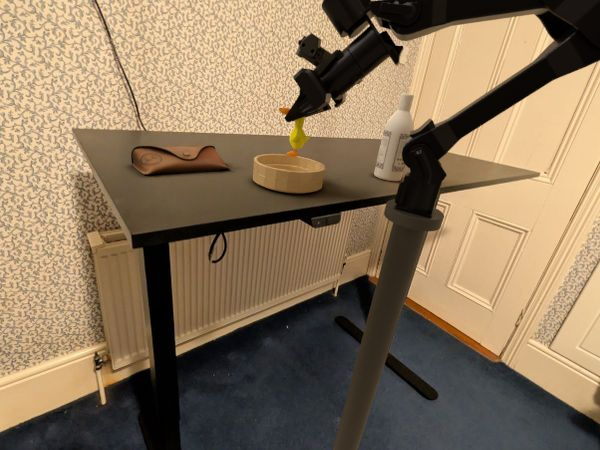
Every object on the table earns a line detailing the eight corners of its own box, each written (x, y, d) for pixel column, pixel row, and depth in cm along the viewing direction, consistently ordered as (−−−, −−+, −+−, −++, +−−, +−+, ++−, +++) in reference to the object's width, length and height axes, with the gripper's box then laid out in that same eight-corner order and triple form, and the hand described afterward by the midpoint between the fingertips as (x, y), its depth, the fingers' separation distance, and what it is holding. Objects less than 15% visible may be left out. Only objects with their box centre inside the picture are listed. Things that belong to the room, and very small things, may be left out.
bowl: (331, 185, 70) (335, 164, 68) (302, 201, 58) (306, 177, 56) (275, 170, 75) (277, 151, 73) (237, 182, 63) (239, 159, 61)
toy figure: (272, 154, 63) (278, 87, 58) (277, 151, 66) (283, 87, 61) (306, 159, 62) (315, 92, 57) (310, 156, 65) (318, 92, 60)
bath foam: (403, 178, 84) (424, 96, 76) (398, 183, 78) (421, 95, 70) (377, 172, 87) (395, 92, 79) (370, 177, 81) (389, 91, 73)
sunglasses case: (144, 174, 58) (136, 138, 58) (135, 183, 64) (128, 150, 64) (233, 168, 70) (226, 138, 70) (219, 176, 75) (212, 148, 75)
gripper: (339, 30, 62) (280, 85, 69) (314, 5, 45) (240, 81, 52) (372, 80, 63) (311, 129, 70) (359, 73, 47) (280, 138, 54)
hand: (288, 119), depth 61 cm, fingers closed on toy figure, 2 cm apart
